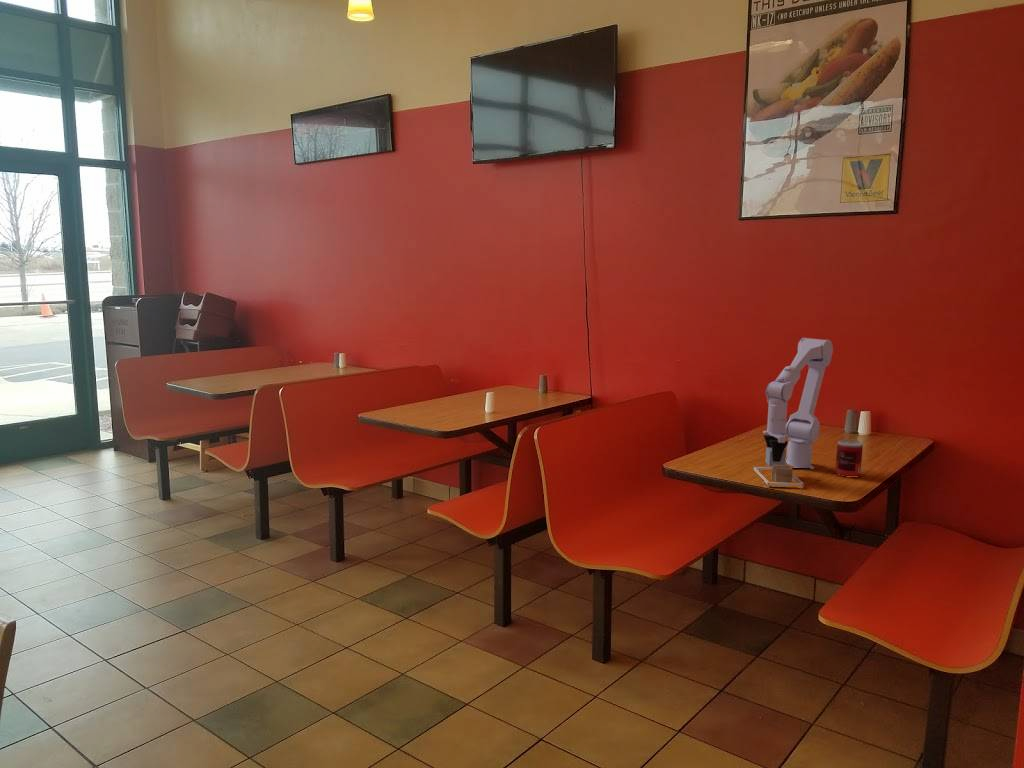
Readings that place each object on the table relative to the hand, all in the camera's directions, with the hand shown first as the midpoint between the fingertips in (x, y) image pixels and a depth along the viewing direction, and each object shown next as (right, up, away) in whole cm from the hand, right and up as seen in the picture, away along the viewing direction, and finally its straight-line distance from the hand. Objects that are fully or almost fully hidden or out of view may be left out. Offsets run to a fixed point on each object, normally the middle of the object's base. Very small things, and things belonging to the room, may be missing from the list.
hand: (774, 459), depth 255 cm
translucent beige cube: (0, -7, -8) cm, 10 cm away
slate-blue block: (0, -2, 0) cm, 2 cm away
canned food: (+25, -6, +2) cm, 26 cm away
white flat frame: (0, -6, -4) cm, 7 cm away
